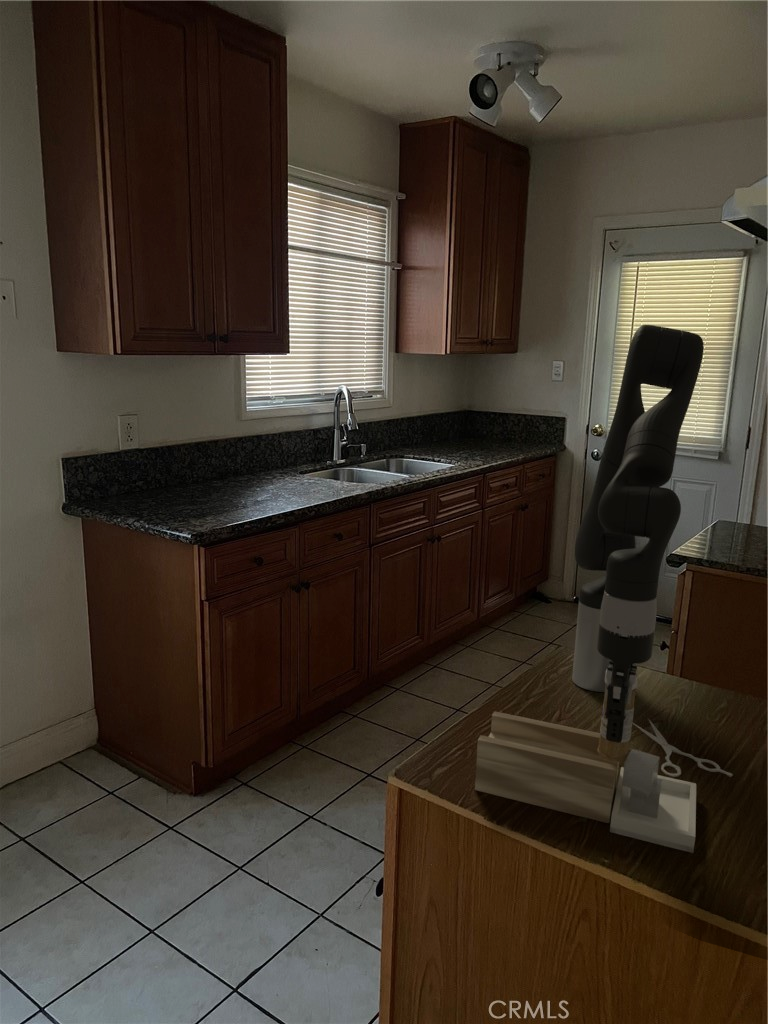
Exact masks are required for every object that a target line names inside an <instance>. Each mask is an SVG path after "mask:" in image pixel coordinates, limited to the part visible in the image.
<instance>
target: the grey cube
mask: <svg viewBox="0 0 768 1024" xmlns="http://www.w3.org/2000/svg"><path fill="white" fill-rule="evenodd" d="M628 753H629V754H628V756H627V758H626V759H625V761H624V763H623V767H624V772H623V781H622V785H623V786H626V787H629V788H632V789H635V790H638V791H641V792H644V793H647V794H651V792H652V790H653V788H654V786H655V784H656V782H657V775H659V765H660V760H661V759H660V756H658V755H654V754H651V753H648V752H645V751H643V750H642V751H641V750H639V749H635V748H631V749H630V752H628Z"/></svg>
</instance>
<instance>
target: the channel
mask: <svg viewBox="0 0 768 1024" xmlns="http://www.w3.org/2000/svg"><path fill="white" fill-rule="evenodd" d="M599 740H600V732H595V731H591V730H587V729H581V728H576V727H572V726H567V725H562V724H557V723H553V722H552V723H551V722H548V721H543V720H538V719H534V718H528V717H524V716H519V715H513V714H509V713H505V712H500V711H493V713H492V714H491V727H490V733H489V735H488V736H487V735H482V734H480V735H479V737H478V739H477V747H476V748H477V749H476V762H475V763H476V764H475V767H476V768H475V780H474V781H475V783H474V790H475V791H478V792H482V793H487V794H489V795H494V796H498V797H502V798H506V799H510V800H514V801H517V802H522V803H525V804H530V805H533V806H538V807H542V808H546V809H548V810H549V809H550V810H554V811H558V812H563V813H566V814H570V815H573V816H578V817H581V818H586V819H591V820H594V821H597V822H598V821H599V822H601V823H607V824H610V823H611V816H612V811H613V806H614V801H615V796H616V791H617V786H618V778H619V776H618V775H619V768H620V767H619V766H620V765H619V764H620V762H612V761H608V760H606V759H603V758H602V757H601V756H600V755H599V754H598V752H597V749H598V747H599Z"/></svg>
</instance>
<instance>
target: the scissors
mask: <svg viewBox="0 0 768 1024" xmlns="http://www.w3.org/2000/svg"><path fill="white" fill-rule="evenodd" d="M647 719H648V721H649V724H650V726H651V728H652V730H653V732H654V734H655V735H654V734H652V733H651V732H649V731H647V730H646V729H643V728H642V727H641V726H639V725H637V724H636V723H634V722H632V725H634V726H635V727H637V728H638V729H639V730H640V731H641V732H643V734H645V735H646V736H648V737H649V738H650V739H652V741H654V742H656V743H657V744H659V745H660V746H661V747H662V750H664V752H665V754H666V756H665V757H664V759H665V761H666V762H664V763H662V764H661V766H660V767H661V768H660V769H661V772H662V773H663V774H665V775H667V776H668V777H671V778H679V777H680V776H681V775H682V770H681V767H680V766H679V765H676V764H674V763H672V761H671V760H670V757H671V755H672V753H675V754H678V755H682V756H685V757H688V758H690V759H692V760H693V761H695V762H696V763H697V767H698V768H700V769H702V770H705V771H708V772H711V773H721V774H723V775H726V776H728V777H730V778H731V777H733V773H731V772H729V771H726V770H723V769H721V767H720V765H719V764H718V763H716V762H715V761H713V760H710V759H705V758H699V757H697V756H696V757H695V756H694V755H692V754H690V753H687V752H683V751H681V750H680V749H679V748H677V747H675V746H673V745H671V744H669V743H668V742H667V740H666V739H665V737H664V736H663V735H662V734H661V732H660V731H659V730H658V728H657V727H656V726H655V724H653V722H652V721H651V720H650V719H649V718H647ZM702 763H707V764H710V765H713V767H715V768H709V767H707V766H705V765H704V764H702ZM665 767H671V768H674V769H675V771H676V772H677V773H676V772H675V773H671V772H668V771H667V770H665Z"/></svg>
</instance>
